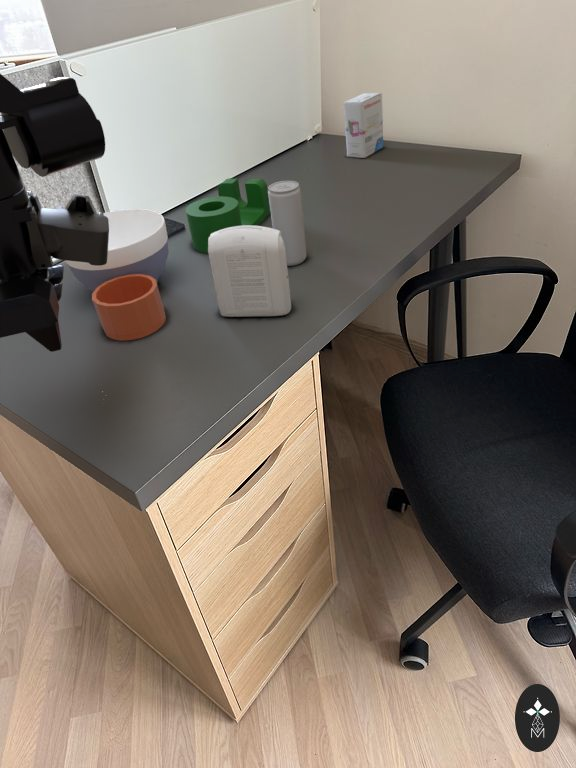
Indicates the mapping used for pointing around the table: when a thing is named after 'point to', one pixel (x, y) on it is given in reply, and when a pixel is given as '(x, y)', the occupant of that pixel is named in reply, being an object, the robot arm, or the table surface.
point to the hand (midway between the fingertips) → (56, 348)
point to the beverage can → (288, 219)
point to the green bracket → (227, 210)
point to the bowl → (128, 248)
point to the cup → (129, 307)
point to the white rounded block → (250, 271)
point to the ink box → (364, 124)
